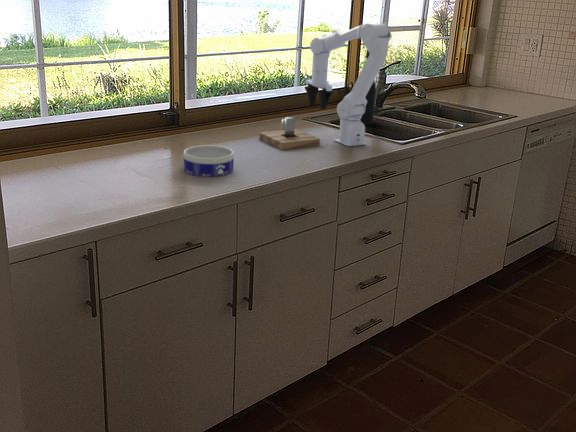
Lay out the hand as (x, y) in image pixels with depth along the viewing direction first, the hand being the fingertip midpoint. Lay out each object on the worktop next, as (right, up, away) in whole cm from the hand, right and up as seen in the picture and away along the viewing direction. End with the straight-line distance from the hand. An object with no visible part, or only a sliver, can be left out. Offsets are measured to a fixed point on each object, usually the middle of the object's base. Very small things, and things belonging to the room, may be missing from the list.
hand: (317, 106), depth 244 cm
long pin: (-11, -15, -11) cm, 21 cm away
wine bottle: (+21, -3, +25) cm, 33 cm away
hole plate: (-11, -15, -11) cm, 21 cm away
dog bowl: (-36, -28, -47) cm, 65 cm away
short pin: (-12, -9, +4) cm, 16 cm away
